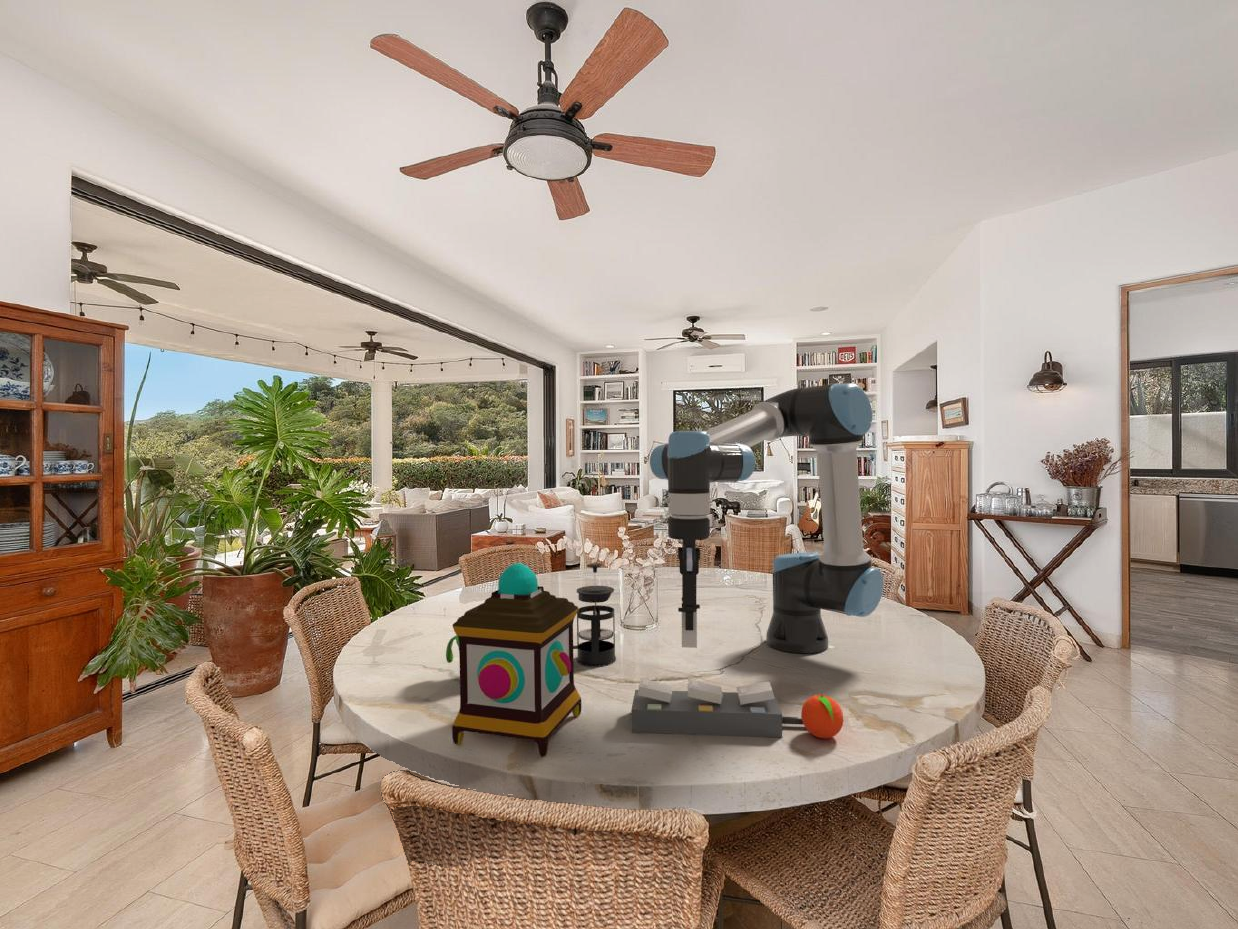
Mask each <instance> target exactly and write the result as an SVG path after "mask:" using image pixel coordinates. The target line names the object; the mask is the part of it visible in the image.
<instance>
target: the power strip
mask: <svg viewBox="0 0 1238 929" xmlns="http://www.w3.org/2000/svg"><path fill="white" fill-rule="evenodd" d="M722 694H723V697H722V702H721V704H718V703H713V702H709V701H705V700H701V699H697V698H692V697H688V690H672V696H671V701H670V703H669V702H665V701H661V700H657V699H652V698H648V697H644V696H640V695H638V689H635V690H634V695H633V699H632V706H631V711H630V712H631V733H645V734H646V733H647V734H670V735H671V734H674V735H675V734H676V735H678V734H679V735H700V736H701V735H704V736H705V735H706V736H727V737H728V736H730V737H733V736H734V737H735V736H736V737H756V738H757V737H762V738H765V737H766V738H783V725H803V726H804V724H803V721H802V717H801V716H800V717H799V716H783V713H782V711H781V708H780V705H779V702H778V700H777V697H776V695H775V693H773V695H774V699H771V700H765V701H760V702H754V703H748V704H743V705H741V704H740V700H739V695H738V692H735V691H734V692H727V691H722Z"/></svg>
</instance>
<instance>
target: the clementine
mask: <svg viewBox="0 0 1238 929" xmlns="http://www.w3.org/2000/svg"><path fill="white" fill-rule="evenodd" d="M800 714H801V715H800V717H802V721H803V724H804V725H803V726H804V728H805V729H806V731H808V733H810V734H812V735H813V736H814V737H817V738H819V739H831V738H833V737H835V736H837V735H838V733H840V731H841V730H842V728H843V726H844V715H843V714H844V713H843V711H842V708H841V706H840V705H839V704H838V703H837V701H836V700H835V699H833V698H831V697H830V696H828V695H825V694H816V695H812V696H811V697H809V698H807V699H806V700H805V702H804V703H803V705H802V708H801V713H800Z"/></svg>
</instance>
